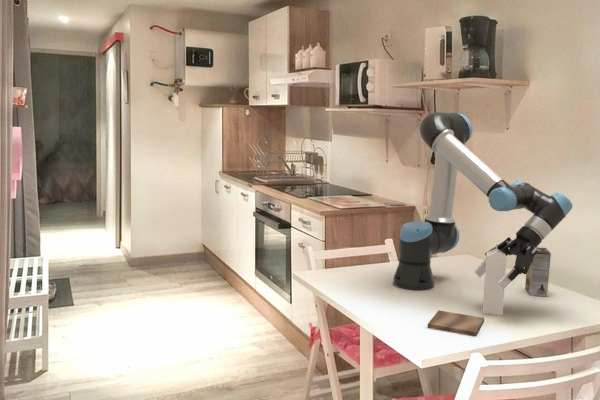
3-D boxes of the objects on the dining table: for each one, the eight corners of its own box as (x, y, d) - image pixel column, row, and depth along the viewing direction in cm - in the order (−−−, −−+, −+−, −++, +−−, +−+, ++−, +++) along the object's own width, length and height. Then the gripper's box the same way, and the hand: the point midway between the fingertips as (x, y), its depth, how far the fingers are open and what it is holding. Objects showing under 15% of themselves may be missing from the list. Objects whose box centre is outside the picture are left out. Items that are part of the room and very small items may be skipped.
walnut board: (427, 327, 165) (427, 323, 165) (438, 313, 178) (438, 310, 178) (476, 336, 159) (476, 332, 159) (483, 321, 172) (484, 317, 171)
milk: (482, 313, 179) (486, 246, 176) (482, 308, 185) (486, 242, 182) (502, 316, 177) (507, 248, 174) (502, 310, 183) (506, 244, 180)
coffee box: (524, 288, 209) (527, 246, 206) (542, 289, 207) (545, 247, 205) (529, 295, 200) (532, 251, 198) (548, 297, 198) (551, 252, 196)
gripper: (565, 249, 169) (518, 299, 168) (516, 233, 193) (474, 277, 192) (552, 232, 167) (504, 283, 166) (503, 218, 192) (461, 262, 190)
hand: (488, 280), depth 179 cm, fingers open, 13 cm apart
